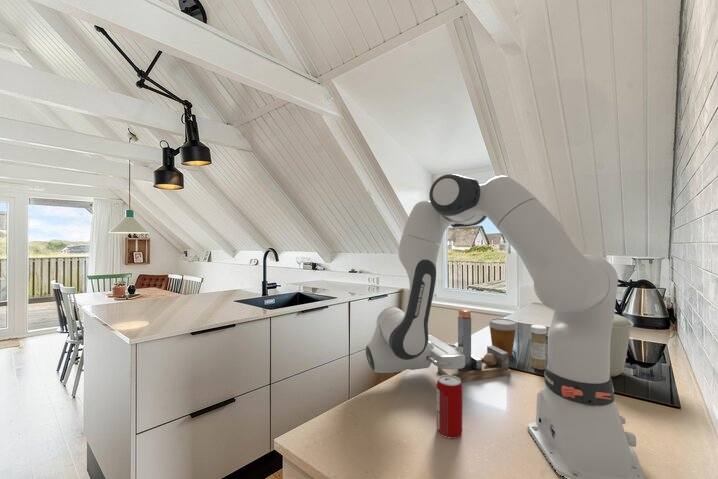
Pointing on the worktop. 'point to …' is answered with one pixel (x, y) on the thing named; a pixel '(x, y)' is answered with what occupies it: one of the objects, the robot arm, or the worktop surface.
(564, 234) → the robot arm
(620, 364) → the canister
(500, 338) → the disposable coffee cup
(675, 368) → the worktop surface
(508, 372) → the cracker bench
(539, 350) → the sprinkles bottle
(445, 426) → the soda can
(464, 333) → the slider
